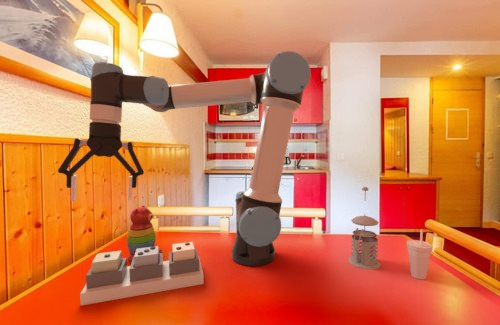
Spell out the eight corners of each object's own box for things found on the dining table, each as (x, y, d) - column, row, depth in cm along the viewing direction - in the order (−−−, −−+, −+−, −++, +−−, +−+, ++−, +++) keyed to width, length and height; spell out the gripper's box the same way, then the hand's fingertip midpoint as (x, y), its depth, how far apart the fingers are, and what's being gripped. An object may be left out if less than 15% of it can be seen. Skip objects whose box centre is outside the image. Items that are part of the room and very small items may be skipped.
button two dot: (192, 254, 79) (192, 240, 79) (194, 262, 74) (194, 247, 73) (172, 257, 78) (172, 243, 77) (173, 265, 72) (172, 250, 72)
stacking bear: (146, 264, 84) (144, 211, 83) (120, 262, 86) (117, 210, 85) (164, 251, 95) (162, 204, 94) (139, 249, 97) (137, 203, 96)
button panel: (198, 265, 83) (198, 245, 83) (203, 283, 72) (203, 261, 71) (94, 281, 74) (93, 259, 74) (80, 305, 63) (79, 279, 62)
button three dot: (158, 259, 76) (158, 244, 76) (158, 267, 71) (157, 252, 70) (137, 262, 74) (136, 247, 74) (134, 271, 69) (133, 255, 69)
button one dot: (122, 264, 73) (121, 249, 73) (118, 273, 68) (117, 258, 67) (98, 267, 71) (97, 252, 71) (92, 277, 66) (91, 261, 65)
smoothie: (423, 284, 70) (425, 234, 69) (400, 274, 76) (401, 227, 75) (436, 278, 73) (438, 230, 72) (413, 268, 79) (414, 224, 78)
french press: (384, 261, 84) (386, 186, 82) (373, 274, 75) (374, 191, 74) (354, 253, 91) (355, 183, 89) (341, 264, 82) (341, 187, 81)
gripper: (153, 127, 78) (150, 196, 79) (54, 118, 68) (51, 197, 69) (155, 126, 71) (151, 201, 72) (44, 116, 61) (42, 203, 62)
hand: (102, 199), depth 71 cm, fingers open, 13 cm apart
